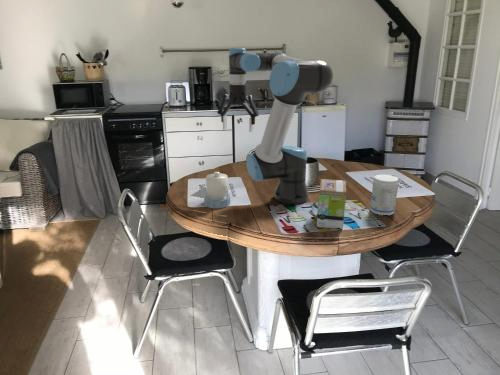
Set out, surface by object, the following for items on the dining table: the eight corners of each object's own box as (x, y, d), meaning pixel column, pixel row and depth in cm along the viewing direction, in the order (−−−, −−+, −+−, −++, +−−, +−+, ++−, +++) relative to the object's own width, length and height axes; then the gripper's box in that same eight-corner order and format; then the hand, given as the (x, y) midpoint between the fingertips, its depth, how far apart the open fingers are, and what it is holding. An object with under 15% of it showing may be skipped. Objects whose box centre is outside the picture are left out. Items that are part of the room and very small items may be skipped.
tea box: (343, 229, 153) (346, 191, 148) (316, 227, 155) (318, 189, 150) (343, 214, 167) (346, 179, 162) (318, 212, 169) (320, 177, 164)
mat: (226, 192, 192) (226, 191, 192) (213, 200, 182) (213, 199, 182) (203, 188, 197) (203, 187, 197) (190, 196, 187) (190, 195, 187)
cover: (229, 193, 180) (228, 169, 176) (226, 200, 171) (226, 175, 168) (208, 192, 180) (207, 169, 177) (204, 199, 172) (204, 175, 169)
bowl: (234, 202, 180) (234, 194, 178) (222, 210, 170) (222, 202, 169) (212, 198, 184) (212, 191, 183) (199, 206, 174) (199, 198, 173)
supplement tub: (366, 208, 174) (369, 174, 169) (388, 207, 175) (392, 173, 170) (375, 216, 165) (379, 181, 160) (398, 216, 165) (403, 180, 161)
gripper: (266, 84, 187) (265, 131, 193) (217, 82, 196) (218, 127, 203) (259, 85, 180) (259, 133, 187) (209, 83, 190) (210, 129, 197)
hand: (237, 130), depth 195 cm, fingers open, 13 cm apart
